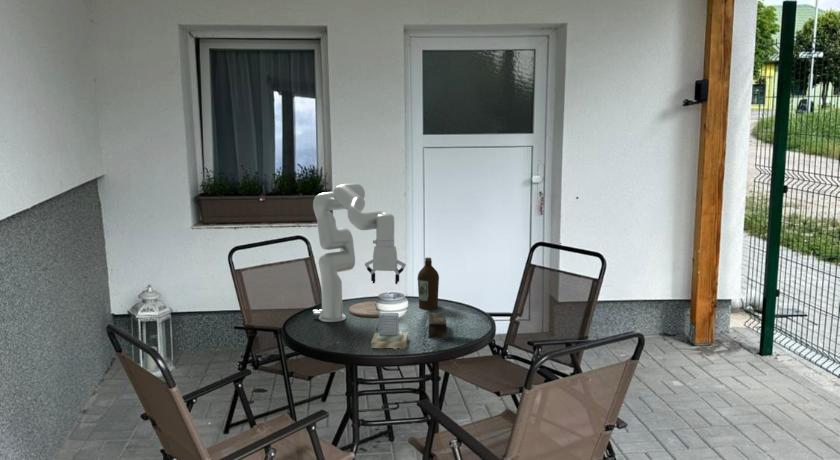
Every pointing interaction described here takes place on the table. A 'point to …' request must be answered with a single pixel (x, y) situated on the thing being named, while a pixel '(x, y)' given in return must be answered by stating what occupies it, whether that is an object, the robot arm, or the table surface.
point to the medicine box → (389, 324)
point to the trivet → (364, 309)
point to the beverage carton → (437, 325)
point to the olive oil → (428, 286)
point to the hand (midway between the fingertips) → (385, 283)
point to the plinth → (390, 341)
